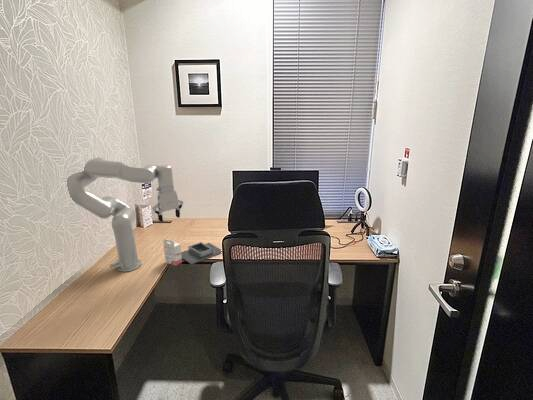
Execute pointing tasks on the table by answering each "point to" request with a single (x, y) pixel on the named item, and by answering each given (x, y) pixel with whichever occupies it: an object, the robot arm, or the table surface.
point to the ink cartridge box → (172, 252)
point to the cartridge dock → (199, 252)
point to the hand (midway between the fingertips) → (169, 219)
